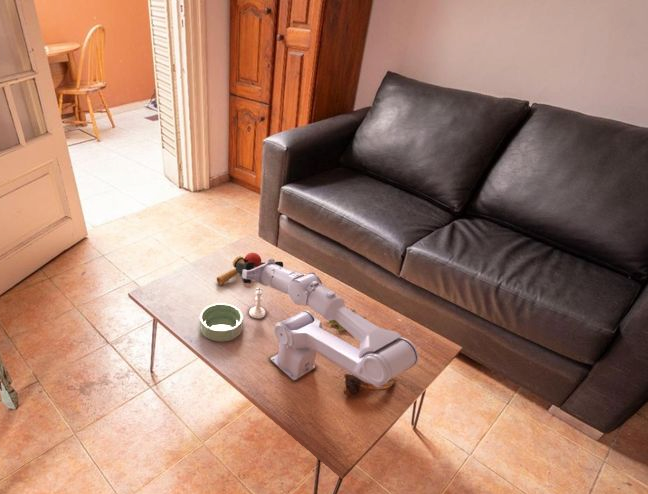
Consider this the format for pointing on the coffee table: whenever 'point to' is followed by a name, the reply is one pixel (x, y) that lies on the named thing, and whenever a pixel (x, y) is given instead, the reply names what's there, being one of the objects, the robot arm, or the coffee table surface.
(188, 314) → the coffee table surface
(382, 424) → the coffee table surface
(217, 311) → the bowl
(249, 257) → the kendama
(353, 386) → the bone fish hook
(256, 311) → the chess piece
